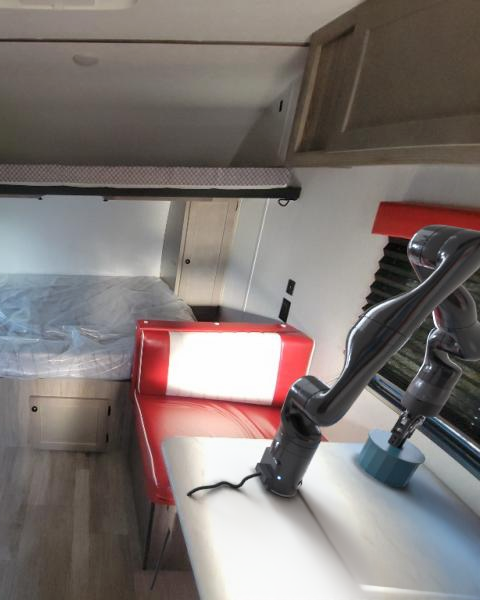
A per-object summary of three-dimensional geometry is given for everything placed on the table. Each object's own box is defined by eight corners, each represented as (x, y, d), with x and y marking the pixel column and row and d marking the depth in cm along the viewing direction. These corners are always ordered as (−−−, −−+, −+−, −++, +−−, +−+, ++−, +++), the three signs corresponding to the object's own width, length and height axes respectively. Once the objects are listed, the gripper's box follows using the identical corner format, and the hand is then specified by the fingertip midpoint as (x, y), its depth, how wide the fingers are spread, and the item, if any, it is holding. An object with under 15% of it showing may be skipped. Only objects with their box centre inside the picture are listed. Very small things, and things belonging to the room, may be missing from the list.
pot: (376, 486, 95) (392, 460, 92) (347, 454, 106) (360, 429, 102) (416, 490, 95) (433, 464, 92) (383, 457, 106) (397, 433, 102)
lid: (391, 463, 91) (401, 446, 89) (357, 430, 103) (365, 414, 101) (436, 468, 91) (447, 451, 89) (397, 434, 103) (406, 418, 101)
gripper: (418, 381, 97) (393, 425, 103) (398, 392, 90) (372, 438, 96) (453, 397, 91) (424, 442, 97) (434, 410, 84) (404, 458, 90)
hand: (398, 440), depth 96 cm, fingers open, 8 cm apart
